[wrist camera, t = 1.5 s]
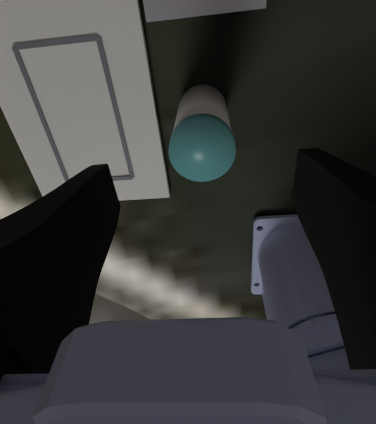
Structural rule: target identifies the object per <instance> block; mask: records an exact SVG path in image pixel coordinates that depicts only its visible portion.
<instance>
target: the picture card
mask: <svg viewBox="0 0 376 424" xmlns="http://www.w3.org/2000/svg"><path fill="white" fill-rule="evenodd" d="M0 107H1V109H2V111H3V113H4V115H5V117H6V119H7V121H8V124H9V126H10V128H11V130H12V132H13V134H14V136H15V138H16V141H17V143H18V145H19V147H20V149H21V151H22V153H23V156H24V158H25V160H26V162H27V164H28V166H29V168H30V170H31V173H32V175H33V177H34V179H35V181H36V183H37V185H38V187H39V190H40V192H41V194H42V196H45V195H46V194H48V193H49V192H51V191H53V190H54V189H56V188H57V187H59V186H60V185H62V184H63V183H65V182H66V181H68V180H69V179H70V178H72V177H73V176H75V175H76V174H78V173H79V172H81V171H82V170H84V169H86V168H87V167H89V166H91V165H97V164H108V166H109V169H110V173H111V176H112V179H113V183H114V186H115V190H116V193H117V196H118V200H136V199H152V198H169V197H170V190H169V184H168V178H167V171H166V165H165V159H164V153H163V147H162V141H161V134H160V128H159V122H158V116H157V110H156V104H155V97H154V91H153V85H152V79H151V73H150V67H149V60H148V54H147V48H146V42H145V36H144V30H143V23H142V17H141V11H140V5H139V0H0Z"/></svg>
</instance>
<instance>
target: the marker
mask: <svg viewBox="0 0 376 424" xmlns="http://www.w3.org/2000/svg"><path fill="white" fill-rule="evenodd" d="M235 154H236V147H235V141H234V137H233V133H232V131H231V127H230V122H229V117H228V112H227V107H226V102H225V99H224V97H223V95H222V94H221V93H220V92H219V91H218V90H217V89H216V88H215V87H213V86H211V85H208V84H198V85H195V86H193V87H191V88H190V89H188V90H187V91H186V92H185V93H184V94H183V96H182V98H181V100H180V103H179V107H178V112H177V116H176V121H175V126H174V130H173V132H172V135H171V139H170V144H169V158H170V161H171V163H172V165H173V167H174V168H175V170H176V171H177V172H178V173H179V174H181V175H182V176H184V177H185V178H187V179H190V180H193V181H200V182H204V181H210V180H214V179H216V178H218V177H220V176H222V175H223V174H224V173H226V172H227V171H228V170H229V168H230V167H231V165H232V164H233V161H234V159H235Z"/></svg>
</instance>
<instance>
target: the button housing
mask: <svg viewBox="0 0 376 424" xmlns="http://www.w3.org/2000/svg"><path fill="white" fill-rule="evenodd" d="M143 3H144V10H145V16H146V22H153V21H162V20H170V19H179V18H187V17H196V16H204V15H213V14H221V13H230V12H238V11H247V10H255V9H264V8H266V0H143Z"/></svg>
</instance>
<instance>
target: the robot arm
mask: <svg viewBox="0 0 376 424" xmlns="http://www.w3.org/2000/svg"><path fill="white" fill-rule="evenodd" d="M292 197H293V201H294V205H295V208H296V212H297V214H294V215H275V216H259V217H256V218H255V219H254V221H253V244H252V270H251V292H252V293H253V294H262V296H263V302H264V307H265V312H266V317H267V320H265V319H257V318H249V317H232V318H196V319H161V320H128V321H105V322H100V323H95V324H90V325H89V320H90V315H91V310H92V305H93V300H94V296H95V292H96V287H97V283H98V279H99V276H100V273H101V270H102V267H103V264H104V262H105V259H106V256H107V253H108V250H109V248H110V245H111V242H112V239H113V236H114V233H115V230H116V227H117V223H118V218H119V212H120V203H119V200H118V196H117V193H116V190H115V186H114V183H113V179H112V176H111V173H110V169H109V166H108V164H97V165H91V166H89V167H87V168H86V169H84V170H82V171H81V172H79V173H78V174H76V175H75V176H73V177H72V178H70V179H69V180H68V181H66V182H65V183H63V184H62V185H60V186H59V187H57V188H56V189H54V190H53V191H51V192H49V193H48V194H46V195H45V196H43V197H41V198H40V199H38V200H37V201H35V202H33V203H32V204H30V205H28V206H26V207H24V208H23V209H21V210H19V211H17V212H15V213H13V214H11V215H9V216H7V217H5V218H3V219H0V424H376V177H375V176H373V175H371V174H369V173H367V172H364V171H362V170H360V169H358V168H356V167H354V166H352V165H350V164H348V163H346V162H344V161H342V160H340V159H338V158H336V157H335V156H333V155H331V154H329V153H327V152H324V151H322V150H320V149H317V148H310V149H299V150H298V157H297V164H296V171H295V179H294V186H293V193H292ZM258 226H262V227H261V228H257V227H258Z"/></svg>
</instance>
